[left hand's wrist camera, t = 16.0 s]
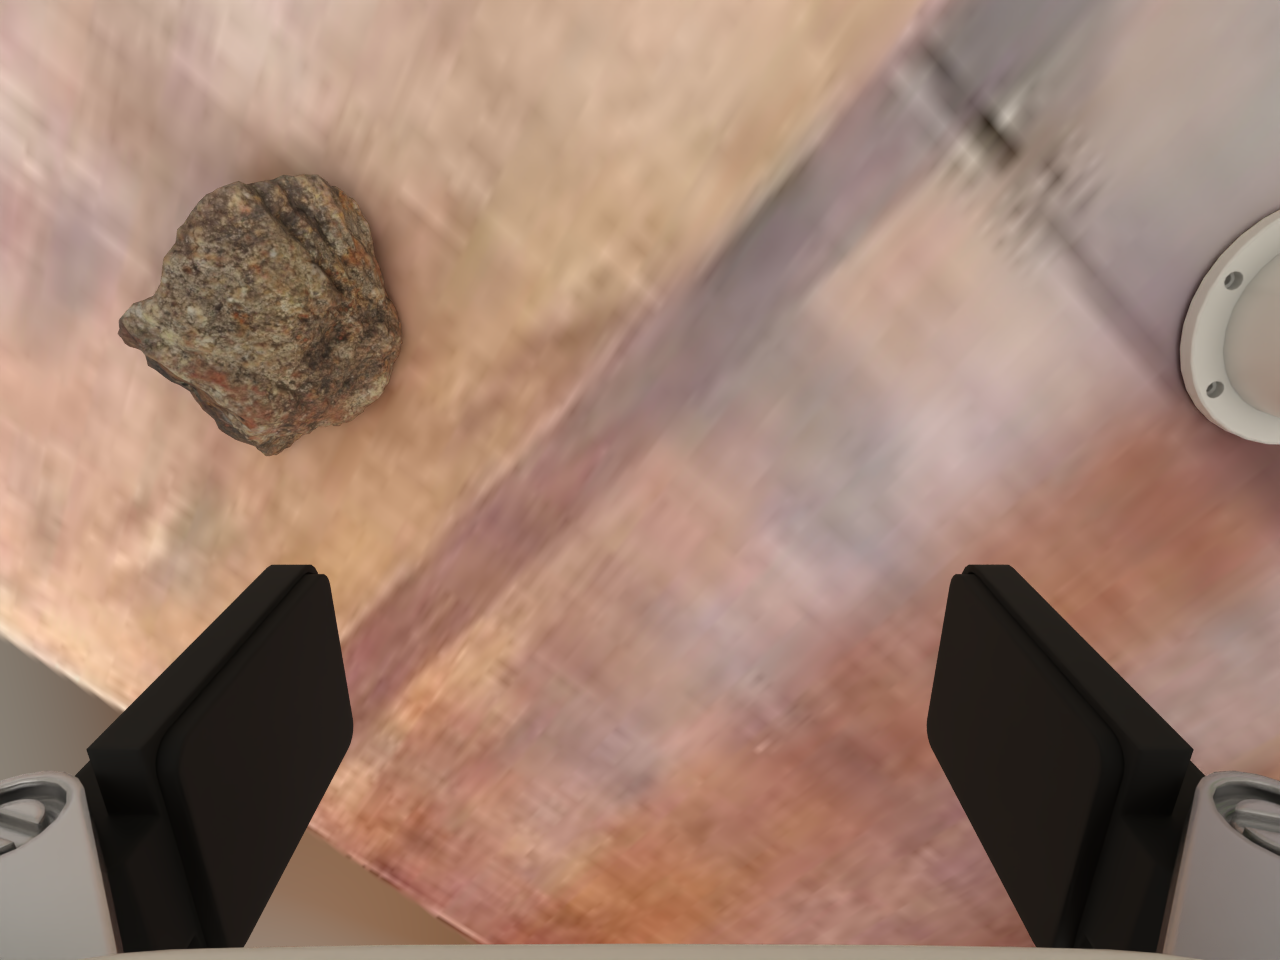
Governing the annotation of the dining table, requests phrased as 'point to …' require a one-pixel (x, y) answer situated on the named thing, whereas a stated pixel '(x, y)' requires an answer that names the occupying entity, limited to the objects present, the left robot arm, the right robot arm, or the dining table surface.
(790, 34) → the dining table surface
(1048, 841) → the left robot arm
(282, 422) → the rock
